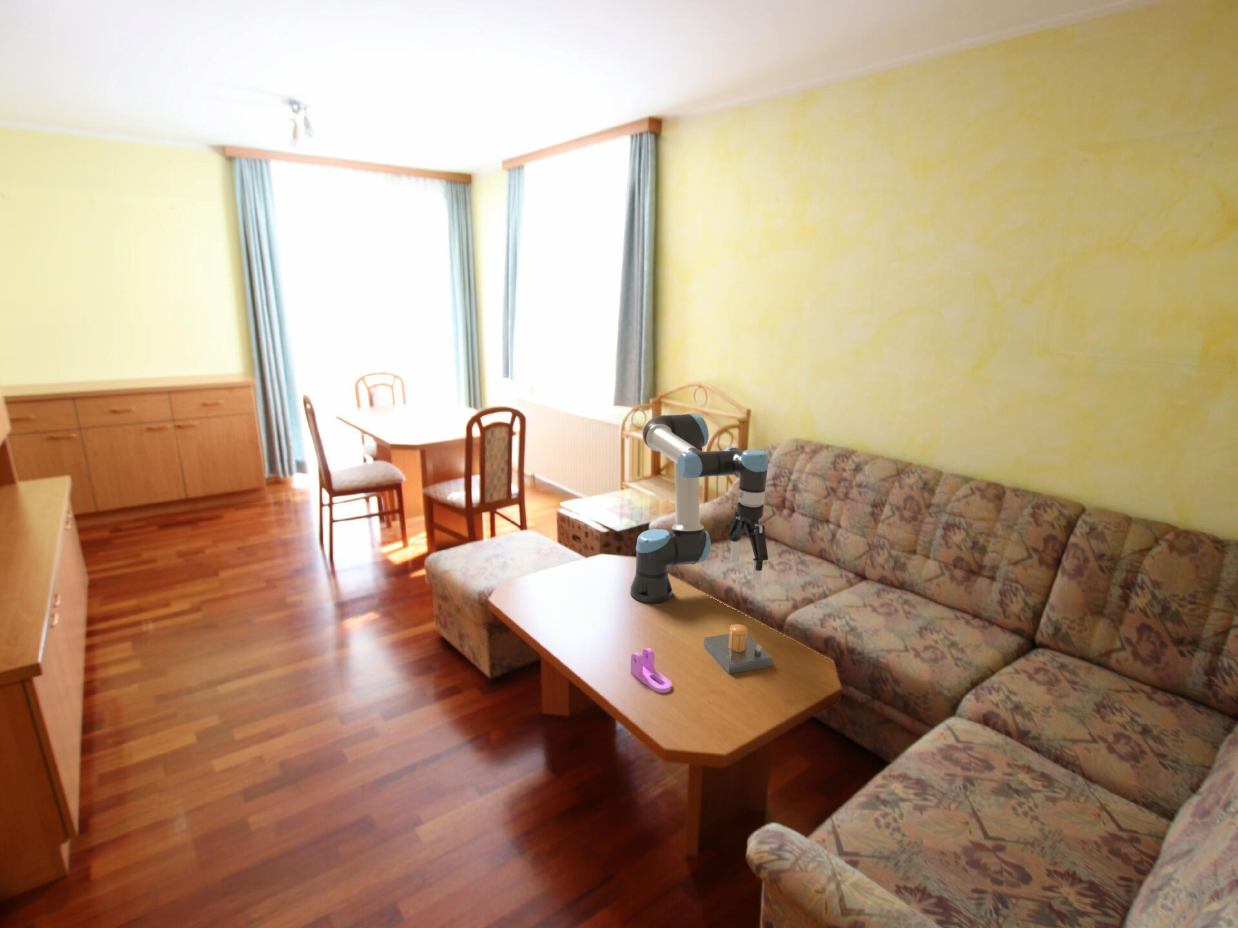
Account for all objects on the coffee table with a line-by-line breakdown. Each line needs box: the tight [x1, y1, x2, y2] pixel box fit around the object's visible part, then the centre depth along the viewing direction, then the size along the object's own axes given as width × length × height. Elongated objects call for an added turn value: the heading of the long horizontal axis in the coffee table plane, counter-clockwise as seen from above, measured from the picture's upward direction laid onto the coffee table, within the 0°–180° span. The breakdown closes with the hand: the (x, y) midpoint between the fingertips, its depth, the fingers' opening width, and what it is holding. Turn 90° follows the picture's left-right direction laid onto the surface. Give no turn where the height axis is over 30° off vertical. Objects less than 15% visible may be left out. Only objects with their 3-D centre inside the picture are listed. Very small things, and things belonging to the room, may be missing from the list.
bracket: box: [630, 647, 673, 694], centre depth 180 cm, size 13×6×7 cm, turn 37°
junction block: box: [703, 633, 773, 675], centre depth 193 cm, size 16×14×7 cm
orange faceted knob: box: [728, 623, 748, 652], centre depth 193 cm, size 5×5×6 cm
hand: (744, 570), depth 195 cm, fingers open, 13 cm apart
